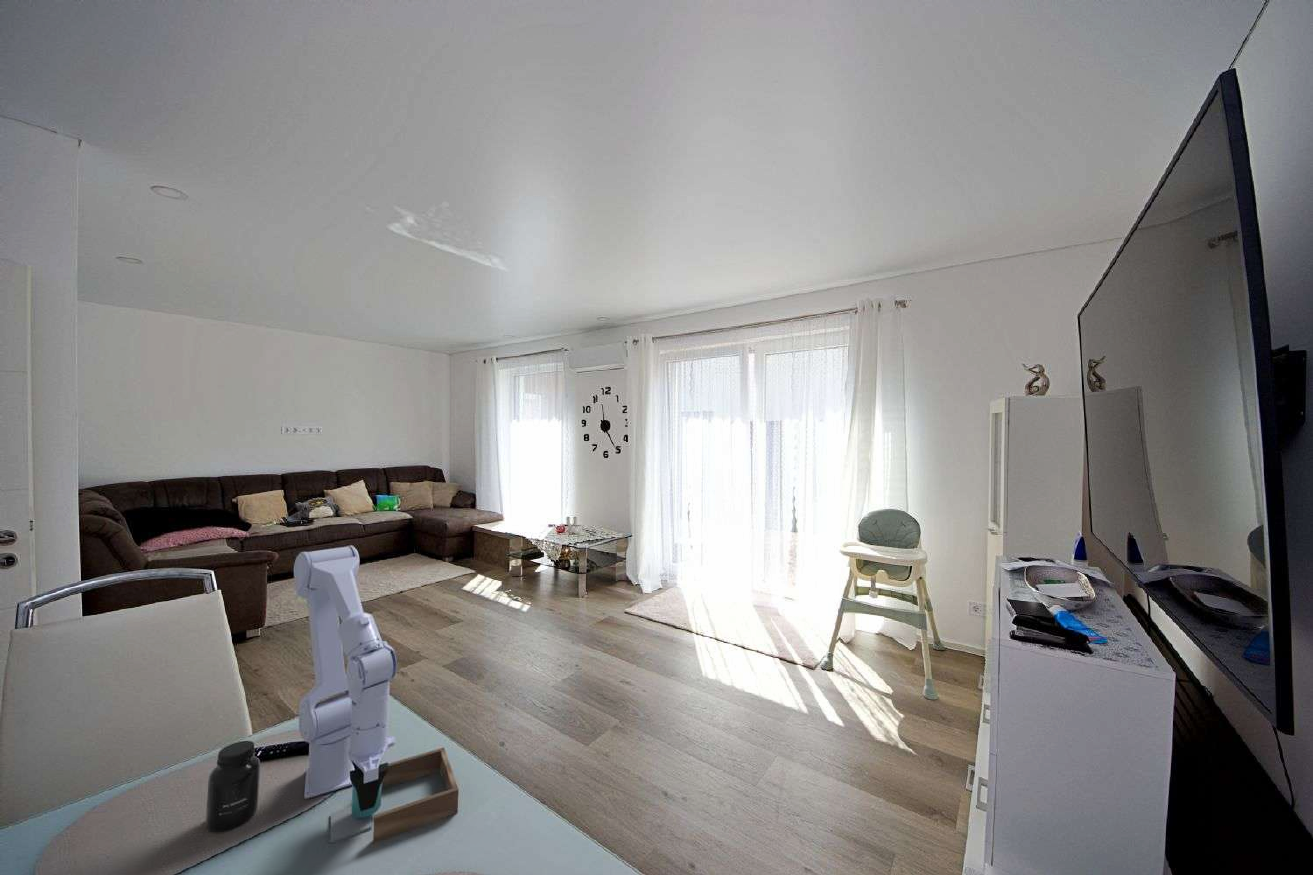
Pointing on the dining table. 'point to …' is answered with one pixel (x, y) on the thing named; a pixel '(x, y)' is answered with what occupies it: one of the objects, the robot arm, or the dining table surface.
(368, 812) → the capsule
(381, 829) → the open u-shaped frame
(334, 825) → the mat
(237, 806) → the supplement bottle
